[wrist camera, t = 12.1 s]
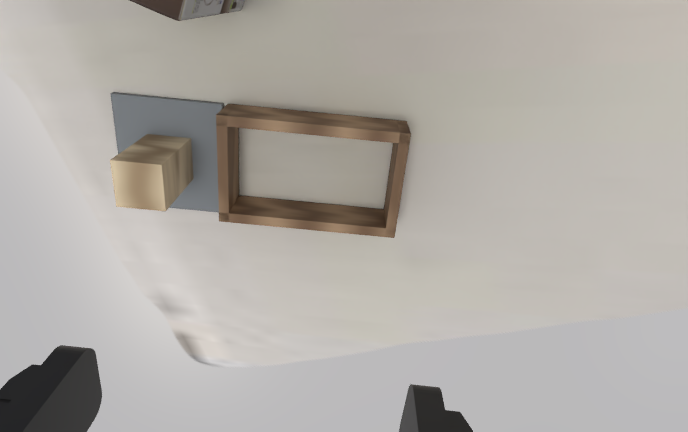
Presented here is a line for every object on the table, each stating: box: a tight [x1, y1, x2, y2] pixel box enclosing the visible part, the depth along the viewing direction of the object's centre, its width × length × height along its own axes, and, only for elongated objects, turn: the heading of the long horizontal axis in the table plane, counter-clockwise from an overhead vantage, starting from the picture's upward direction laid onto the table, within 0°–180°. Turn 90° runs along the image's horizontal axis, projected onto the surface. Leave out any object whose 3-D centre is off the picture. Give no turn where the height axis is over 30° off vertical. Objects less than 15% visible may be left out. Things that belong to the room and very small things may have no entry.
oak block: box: [110, 134, 193, 211], centre depth 46 cm, size 4×4×8 cm
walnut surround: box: [216, 104, 411, 238], centre depth 48 cm, size 18×11×4 cm, turn 85°
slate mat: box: [111, 92, 223, 212], centre depth 49 cm, size 11×12×1 cm
